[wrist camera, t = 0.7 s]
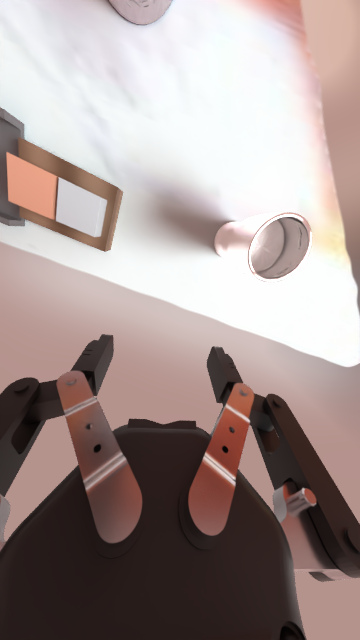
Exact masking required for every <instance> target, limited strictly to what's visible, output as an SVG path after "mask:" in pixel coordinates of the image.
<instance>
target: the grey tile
mask: <svg viewBox="0 0 360 640" xmlns="http://www.w3.org/2000/svg"><path fill="white" fill-rule="evenodd" d="M106 205H107V200H105V199H103V198H101V197H99V196H97V195H95V194H93V193H91V192H89V191H87V190H85V189H83V188H81V187H79V186H77V185H75V184H72V183H70V182H68V181H66V180H64V179H62V178H60V177H59V183H58V197H57V211H56V221H57V222H60V223H62V224H65V225H67V226H69V227H72V228H74V229H76V230H79V231H81V232H83V233H86V234H88V235H91V236H93V237H100V236H101V232H102V227H103V221H104V216H105V210H106Z"/></svg>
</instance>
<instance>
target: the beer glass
mask: <svg viewBox="0 0 360 640" xmlns="http://www.w3.org/2000/svg"><path fill="white" fill-rule="evenodd" d="M311 242H312V232H311V228H310V225H309V223H308V222H307V220H306V219H305V218H304V217H302V216H301V215H299V214H296V213H264V214H259V215H255V216H252V217H249V218H247V219H245V220H243V221H242V222H240V223H239V222H235V221H233V222H228V223H226V224H224V225H223V226H222V227H221V228H220V229H219V230H218V232H217V234H216V236H215V241H214V245H215V249H216V252H217V253H218V254H219V255H220V256H221V257H223V258H225V259H229V260H230V261H231V263H232V264H233V265H234V266H235V267H236V268H237V269H239V270H240V271H242V272H243V273H245V274H247V275H250V276H252V277H255V278H258V279H260V280H262V281H266V282H274V281H279V280H282V279H284V278H286V277H288V276H290V275H291V274H292V273H294V272H295V271H296V270H297V269H298V268H299V267H300V266H301V265H302V263H303V262H304V260H305V259H306V257H307V255H308V253H309V250H310V247H311Z"/></svg>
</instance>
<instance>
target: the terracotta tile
mask: <svg viewBox="0 0 360 640" xmlns="http://www.w3.org/2000/svg"><path fill="white" fill-rule="evenodd" d="M6 154H7V178H8V201H10V202H12V203H15V204H17V205H19V206H22V207H24V208H26V209H29V210H31V211H34V212H36V213H38V214H41V215H43V216H45V217H48V218H50V219H54V220H56V211H57V197H58V183H59V177H58V176H56V175H54V174H51V173H49V172H47V171H45V170H43V169H41V168H39V167H37V166H35V165H33V164H31V163H29V162H27V161H25V160H23V159H21V158H18V157H16V156H14V155H12V154H10V153H8V152H6Z"/></svg>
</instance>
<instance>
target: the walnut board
mask: <svg viewBox="0 0 360 640" xmlns="http://www.w3.org/2000/svg"><path fill="white" fill-rule="evenodd" d="M18 143H19V158H21V159H23V160H25V161H27V162H29V163H31V164H33V165H35V166H37V167H39V168H41V169H43V170H45V171H47V172H49V173H51V174H54V175H56V176H58V177H60V178H62V179H64V180H66V181H68V182H70V183H72V184H75V185H77V186H79V187H81V188H83V189H85V190H87V191H89V192H91V193H93V194H95V195H97V196H99V197H101V198H103V199H105V200H107V205H106V210H105V216H104V221H103V227H102V232H101V236H100V237H93V236H91V235H88V234H86V233H83V232H81V231H79V230H76V229H74V228H72V227H69V226H67V225H65V224H62V223H60V222H57V221H56V220H54V219H50V218H48V217H45V216H43V215H41V214H38V213H36V212H34V211H31V210H29V209H26V208H24V207H22V206H20V217H21V218H24V219H26V220H29V221H31V222H34V223H36V224H38V225H41V226H43V227H46V228H48V229H51V230H53V231H56V232H58V233H60V234H63V235H65V236H68V237H70V238H73V239H75V240H78V241H80V242H82V243H85V244H87V245H90V246H92V247H95V248H97V249H100V250H102V251H104V252H105V251H108V250H111V245H112V241H113V236H114V231H115V227H116V222H117V218H118V213H119V209H120V204H121V199H122V195H123V191H121V190H120V189H119V188H118V187H116V186H114V185H112V184H110V183H108V182H106V181H104V180H102V179H100V178H98V177H96V176H94V175H92V174H90V173H88V172H86V171H84V170H82V169H80V168H78V167H76V166H75V165H73V164H71V163H69V162H67V161H65V160H63V159H61V158H59V157H57V156H55V155H53V154H51V153H49V152H47V151H45V150H43V149H41V148H39V147H37V146H35V145H34V144H32V143H30V142H28V141H26V140H24V139H22V138H20V137H18Z"/></svg>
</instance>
